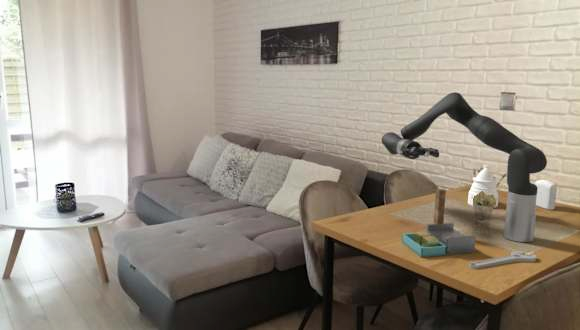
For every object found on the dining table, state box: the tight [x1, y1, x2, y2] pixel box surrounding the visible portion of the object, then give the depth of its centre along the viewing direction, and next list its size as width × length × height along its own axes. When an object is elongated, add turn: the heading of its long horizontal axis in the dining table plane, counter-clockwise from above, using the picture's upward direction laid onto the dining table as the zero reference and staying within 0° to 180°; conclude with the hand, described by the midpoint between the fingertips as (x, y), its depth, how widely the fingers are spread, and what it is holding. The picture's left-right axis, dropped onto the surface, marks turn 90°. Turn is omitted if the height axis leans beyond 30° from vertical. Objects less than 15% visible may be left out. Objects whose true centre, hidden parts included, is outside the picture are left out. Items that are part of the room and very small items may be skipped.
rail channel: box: [425, 222, 476, 256], centre depth 153 cm, size 10×14×6 cm
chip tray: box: [401, 232, 447, 258], centre depth 152 cm, size 9×14×3 cm, turn 12°
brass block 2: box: [421, 236, 439, 248], centre depth 149 cm, size 4×4×4 cm
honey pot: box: [467, 164, 499, 208], centre depth 205 cm, size 13×13×18 cm
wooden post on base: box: [433, 188, 447, 224], centre depth 165 cm, size 3×9×17 cm, turn 12°
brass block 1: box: [414, 230, 431, 246], centre depth 154 cm, size 4×4×4 cm
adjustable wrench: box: [468, 250, 537, 270], centre depth 142 cm, size 25×6×2 cm, turn 106°
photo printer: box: [534, 179, 558, 211], centre depth 201 cm, size 10×4×12 cm, turn 13°
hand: (428, 155), depth 172 cm, fingers open, 8 cm apart
